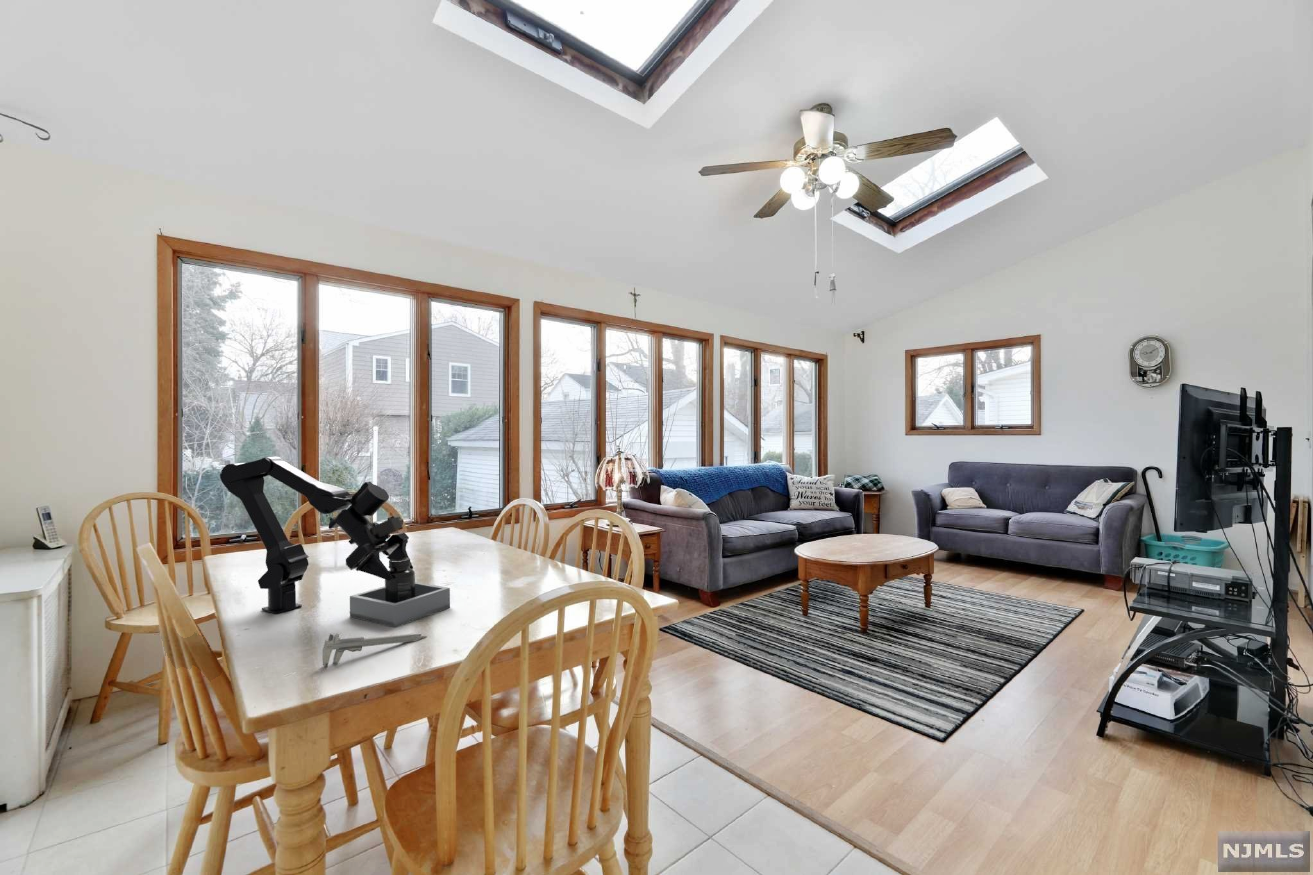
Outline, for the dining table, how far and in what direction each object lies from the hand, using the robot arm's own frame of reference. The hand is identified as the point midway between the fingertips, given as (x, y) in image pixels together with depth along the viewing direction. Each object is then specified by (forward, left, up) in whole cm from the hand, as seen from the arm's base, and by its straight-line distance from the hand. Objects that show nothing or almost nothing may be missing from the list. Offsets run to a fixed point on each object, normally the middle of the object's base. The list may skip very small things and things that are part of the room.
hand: (401, 574), depth 140 cm
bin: (0, 0, -9) cm, 9 cm away
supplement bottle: (-1, 0, -8) cm, 8 cm away
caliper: (+17, -19, -10) cm, 27 cm away
